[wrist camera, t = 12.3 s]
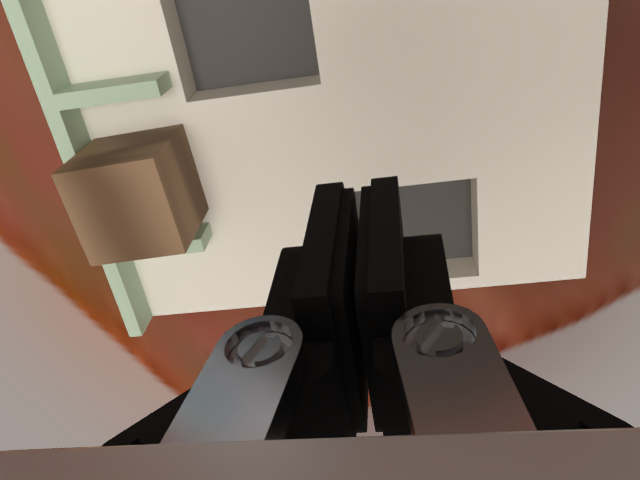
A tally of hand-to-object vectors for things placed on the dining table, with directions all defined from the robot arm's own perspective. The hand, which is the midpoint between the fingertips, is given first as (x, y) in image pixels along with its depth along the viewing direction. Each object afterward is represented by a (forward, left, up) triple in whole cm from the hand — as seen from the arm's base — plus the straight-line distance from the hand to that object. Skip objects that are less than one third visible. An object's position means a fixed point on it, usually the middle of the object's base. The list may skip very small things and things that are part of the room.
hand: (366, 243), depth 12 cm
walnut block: (+12, +5, -18) cm, 23 cm away
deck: (+2, +4, -21) cm, 21 cm away
